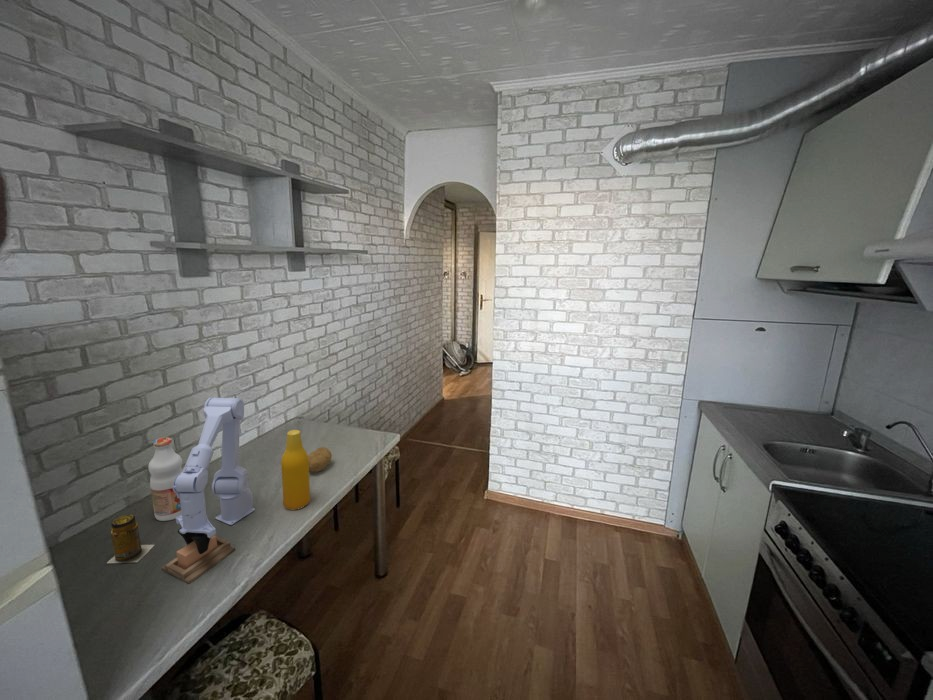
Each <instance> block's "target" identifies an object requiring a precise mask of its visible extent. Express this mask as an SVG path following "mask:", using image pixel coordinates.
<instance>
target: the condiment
mask: <svg viewBox="0 0 933 700" xmlns="http://www.w3.org/2000/svg"><path fill="white" fill-rule="evenodd" d="M110 525H111V532H110V537H111V544H112V547H113V553H114V555H113V556H112V557H111V558H110V559H109V560H108V561H107V562H106V564H124V563H125V564H126V563H129V564H130V563H139V562H140V561H141V560H142V559H143V558H144V557H145V556H146V555H147V554H148V553H149V552H150V550H152V548H154V546H155V544H141V537H140V530H139V525H138V522H137V520H136V516H135V515H133V514H126V515H125V514H124V515H121V516H118V517H117V518H115V519H114V520H112V522H111V524H110Z"/></svg>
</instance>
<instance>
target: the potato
mask: <svg viewBox="0 0 933 700" xmlns="http://www.w3.org/2000/svg"><path fill="white" fill-rule="evenodd" d="M307 455H308V460H309V472H310V471H311V472H312V473H317V472H320V471H323V469H325V468H326V467H327V466H328V465H329V464H330V463H331V461H332V456H333V455H332V452H331V450H330V449H329V448H327V447H325V446H323V447H319V448H317V449H314V450H313V451H312V452H310V453H309V454H307Z"/></svg>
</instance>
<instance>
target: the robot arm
mask: <svg viewBox="0 0 933 700" xmlns="http://www.w3.org/2000/svg"><path fill="white" fill-rule="evenodd" d="M203 415H204V418H205V421H204V425H203V427H202V431H201V434H200V438H199V441H198V444H197V445H196V446H194V447H192V448H191V450H190V452H189V454H188V457H187V460H186V461H185V465H184V467H183V468H182V470H183V472H182V473H180V474H178V475H177V476H176V478H175V480H174V484H173V491H174V492H175V493H176V494H177V498H179V499H180V504H181V512H182V514H181V515H180V516H178V517H176V519H175V522H176V524H177V525H180V527H181V528H179V529H178V530H177V533H178V534H179V535H180V536H181V537H182V539H183V540H184V542H185V543H186V545H188V544H190V543H191V542H193V541H194V542H195V543H196V545H197V549H198V552H199V553H200V554H203V553H204V552H206V551H207V550H208V546H209V541H210V538H211V537H212V536H214V535H215V536H216V534H217V528H216V527H214V526H213V525H212V523H211V522H210V520H209V519H208V517H207V515H208V514H207V509H206V508H207V507H206V499H205V489H206V486H207V484H208V481H209V480H208V475H209V470H208V469H209V467H210V464H211V461H212V458H213V456H214V453H215V452H214V450H213V448H212V447H213V445H214V442H215V440H216V439H217V436H218V434H219V432H220V431H221V428H222V433H221V434H222V435H221V436H222V437H221V438H222V442H221V443H222V444H221V445H222V446H221V447H222V448H221V468H220V469H219V470H217V471H216V472H215V473H214V474H213V481H212V483H211V491H212V494H214V495H216V497H217V498H219V506H220V507H219V508H220V514H219V515H217V516H216V517H215V518H214V519H215V520H217V521H220V522H222V523H224V524H226V525H229V526H233V525H234V524H236V523H238V521H240V520H242V519H243V518H245V517H247V516H248V515H249V514H251V513H252V512H254V511H255V510H256V509H255V508H254V501H253V499H254V498H253V493H252V491H251V488H249V484H250V478H249V475H248V470H247V469H246V468H244V467H243V466H241V465H240V436H241V435H240V434H241V433H240V430H241V429H240V428H241V427H240V426H241V424H240V422H241V420H244V417H245V402H244V401H243V400H242V398H240V397H236V398H235V397H213V396H212V397H209V398H207V400H206V401H205V403H204V405H203Z"/></svg>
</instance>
